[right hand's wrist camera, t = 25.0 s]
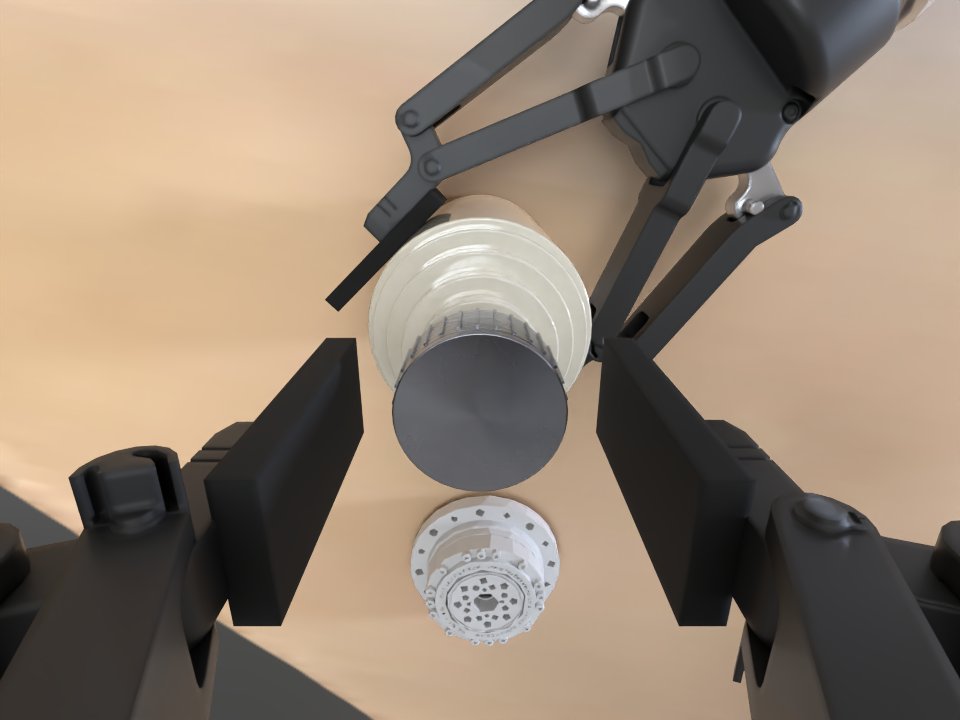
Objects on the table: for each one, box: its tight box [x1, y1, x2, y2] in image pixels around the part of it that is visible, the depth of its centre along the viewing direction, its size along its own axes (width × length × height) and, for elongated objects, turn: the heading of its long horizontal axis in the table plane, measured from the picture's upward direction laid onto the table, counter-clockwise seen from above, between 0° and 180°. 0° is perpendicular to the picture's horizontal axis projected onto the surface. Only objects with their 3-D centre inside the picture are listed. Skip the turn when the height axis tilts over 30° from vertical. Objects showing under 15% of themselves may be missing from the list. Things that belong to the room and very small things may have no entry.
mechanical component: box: [411, 495, 560, 646], centre depth 35 cm, size 10×4×10 cm
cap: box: [392, 308, 568, 491], centre depth 13 cm, size 4×4×2 cm
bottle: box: [368, 195, 592, 394], centre depth 22 cm, size 8×8×18 cm
